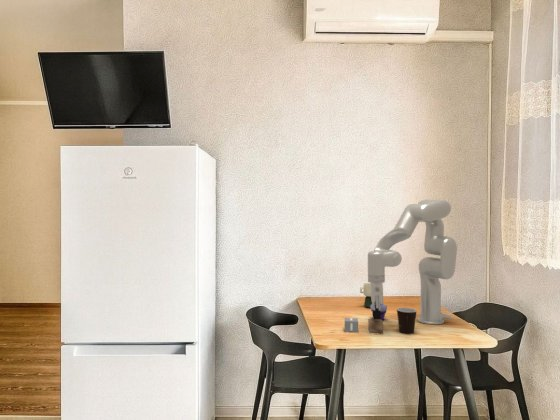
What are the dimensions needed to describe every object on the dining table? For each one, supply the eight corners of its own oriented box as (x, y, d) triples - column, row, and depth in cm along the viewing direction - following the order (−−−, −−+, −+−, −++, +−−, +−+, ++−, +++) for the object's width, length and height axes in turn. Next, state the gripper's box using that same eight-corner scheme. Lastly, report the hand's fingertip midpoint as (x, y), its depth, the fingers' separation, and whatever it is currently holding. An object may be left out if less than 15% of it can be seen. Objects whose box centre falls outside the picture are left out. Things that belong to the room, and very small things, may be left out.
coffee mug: (401, 328, 208) (401, 306, 208) (419, 331, 202) (419, 309, 202) (390, 333, 199) (390, 311, 199) (408, 337, 193) (409, 314, 193)
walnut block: (381, 330, 205) (381, 319, 205) (382, 334, 199) (382, 322, 199) (368, 329, 206) (368, 318, 206) (369, 333, 200) (369, 322, 200)
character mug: (378, 306, 253) (378, 283, 253) (380, 309, 246) (380, 285, 246) (359, 305, 254) (359, 282, 253) (360, 308, 247) (361, 285, 246)
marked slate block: (357, 329, 207) (357, 317, 207) (358, 332, 201) (358, 321, 200) (344, 328, 207) (344, 317, 207) (344, 332, 201) (344, 320, 201)
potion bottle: (390, 319, 224) (391, 295, 223) (381, 322, 218) (381, 298, 217) (376, 316, 230) (376, 293, 230) (366, 319, 224) (366, 295, 224)
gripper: (386, 281, 194) (386, 323, 195) (383, 275, 209) (383, 314, 209) (368, 281, 195) (369, 323, 196) (367, 275, 210) (367, 314, 210)
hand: (376, 318), depth 203 cm, fingers closed
